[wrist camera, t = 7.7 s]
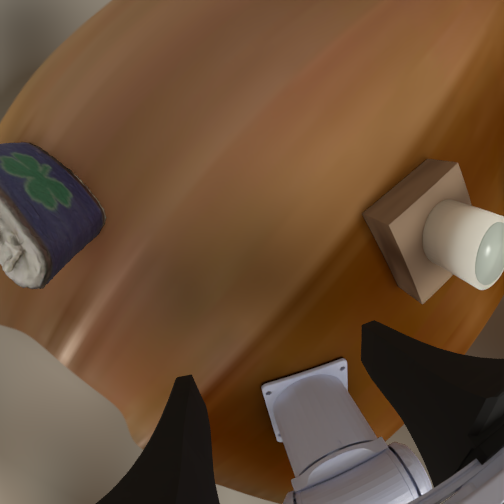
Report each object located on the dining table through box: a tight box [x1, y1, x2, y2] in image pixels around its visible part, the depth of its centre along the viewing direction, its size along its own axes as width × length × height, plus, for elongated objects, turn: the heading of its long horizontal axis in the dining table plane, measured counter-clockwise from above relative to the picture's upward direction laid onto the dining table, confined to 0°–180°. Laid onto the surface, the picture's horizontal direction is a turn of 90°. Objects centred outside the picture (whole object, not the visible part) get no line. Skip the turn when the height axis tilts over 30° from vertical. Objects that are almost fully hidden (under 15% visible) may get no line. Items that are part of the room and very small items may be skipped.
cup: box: [423, 199, 504, 290], centre depth 17 cm, size 5×5×5 cm
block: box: [362, 159, 472, 304], centre depth 21 cm, size 8×8×4 cm
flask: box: [0, 143, 106, 289], centre depth 12 cm, size 9×3×11 cm, turn 45°
